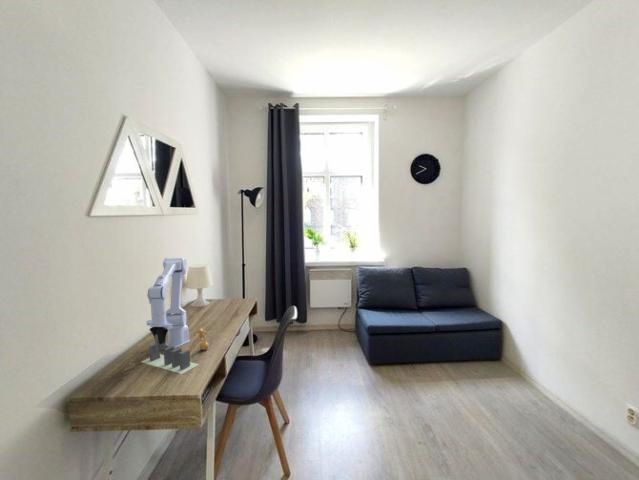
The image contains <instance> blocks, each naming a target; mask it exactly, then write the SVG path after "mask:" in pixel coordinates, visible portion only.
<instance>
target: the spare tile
mask: <svg viewBox="0 0 639 480" xmlns="http://www.w3.org/2000/svg"><path fill="white" fill-rule="evenodd" d="M154 343H155V347H156V351H160V352H161V351H162V350H164V349H165V348H167V346H166V344H167V341H166V338H165V343H162V344H160V343H159V338H158V335H157V334H156V335H155V338H154Z"/></svg>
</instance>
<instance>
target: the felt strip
mask: <svg viewBox="0 0 639 480" xmlns="http://www.w3.org/2000/svg"><path fill="white" fill-rule="evenodd" d="M141 363H142V364H146V365H150V366H153V367H157V368H160V369H163V370H167V371H169V372H170V371H171V372H173V373H177V374H180V375H183V374H184V373H186V372H188V371H190V370H191V369H193V368H195V367H197V366H199V364H198V363H196V362H191V361H190V366H189V367H187V368H185V369H184V370H182V369H180V365H179V366H177V367H175V368H174V367H172V363H171V364H169V365H164V354H161V353H160V358H159V359H156V360H154V361H150V357H148V358H146V359H145V360H142V361H141Z"/></svg>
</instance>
